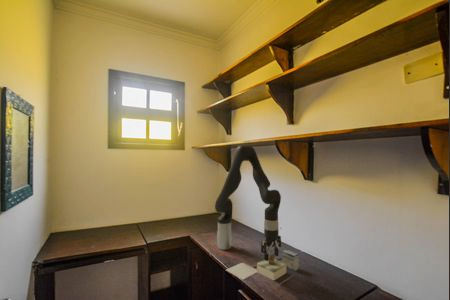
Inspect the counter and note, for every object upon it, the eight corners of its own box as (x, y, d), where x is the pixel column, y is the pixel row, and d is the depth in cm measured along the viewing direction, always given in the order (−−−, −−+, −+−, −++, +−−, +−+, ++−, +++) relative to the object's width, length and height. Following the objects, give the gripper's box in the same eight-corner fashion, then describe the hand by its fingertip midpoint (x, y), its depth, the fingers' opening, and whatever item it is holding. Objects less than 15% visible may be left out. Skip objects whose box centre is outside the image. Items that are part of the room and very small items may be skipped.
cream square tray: (256, 273, 124) (256, 264, 124) (269, 266, 132) (269, 258, 132) (273, 281, 116) (273, 272, 116) (286, 274, 123) (286, 265, 123)
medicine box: (281, 266, 131) (281, 251, 131) (286, 264, 134) (286, 249, 135) (294, 271, 126) (294, 255, 126) (298, 269, 129) (298, 253, 129)
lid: (256, 264, 124) (256, 254, 124) (269, 258, 132) (269, 248, 132) (273, 272, 116) (273, 261, 116) (286, 265, 123) (286, 255, 123)
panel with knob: (225, 270, 127) (225, 269, 127) (242, 263, 135) (242, 262, 135) (242, 280, 117) (242, 279, 117) (259, 272, 126) (259, 270, 126)
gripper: (273, 223, 132) (273, 251, 131) (257, 228, 122) (257, 259, 122) (285, 226, 126) (285, 256, 126) (268, 232, 117) (268, 264, 116)
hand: (271, 257), depth 124 cm, fingers open, 8 cm apart
